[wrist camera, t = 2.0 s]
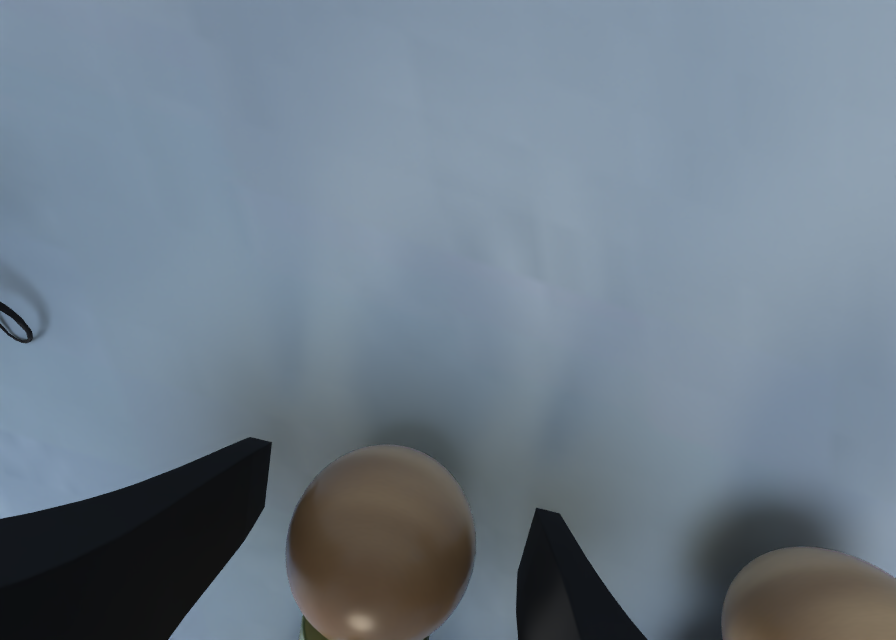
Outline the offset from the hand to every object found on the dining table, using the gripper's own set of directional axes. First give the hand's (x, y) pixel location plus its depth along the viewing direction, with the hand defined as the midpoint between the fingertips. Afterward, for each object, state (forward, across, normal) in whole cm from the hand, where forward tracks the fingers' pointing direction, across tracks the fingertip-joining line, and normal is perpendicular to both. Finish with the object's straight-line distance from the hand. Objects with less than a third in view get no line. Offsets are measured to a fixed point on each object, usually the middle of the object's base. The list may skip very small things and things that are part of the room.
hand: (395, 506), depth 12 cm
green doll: (+1, 0, +3) cm, 3 cm away
